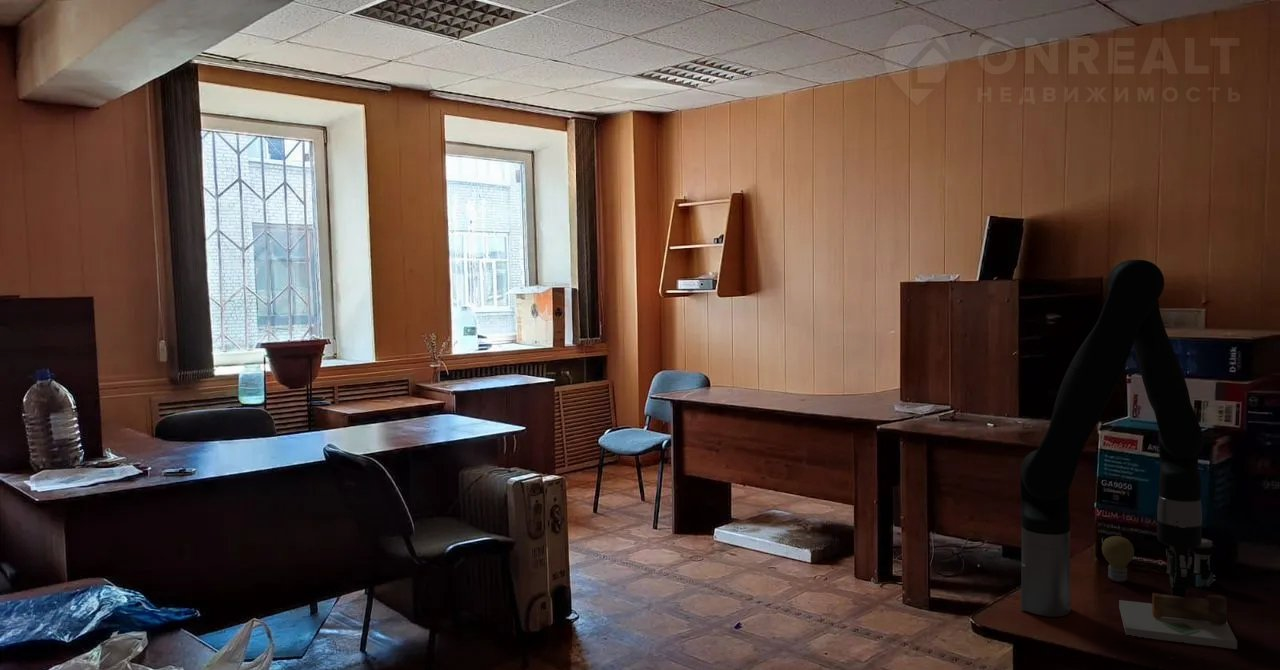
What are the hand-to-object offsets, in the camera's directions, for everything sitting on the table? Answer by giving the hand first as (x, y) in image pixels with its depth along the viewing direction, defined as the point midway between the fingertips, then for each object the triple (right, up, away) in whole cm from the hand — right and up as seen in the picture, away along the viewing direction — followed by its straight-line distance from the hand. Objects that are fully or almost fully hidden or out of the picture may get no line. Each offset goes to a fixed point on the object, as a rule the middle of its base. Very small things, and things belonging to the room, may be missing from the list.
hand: (1178, 604), depth 174 cm
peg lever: (0, -2, -3) cm, 3 cm away
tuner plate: (-2, -4, -2) cm, 5 cm away
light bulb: (+1, -2, +24) cm, 24 cm away
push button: (+18, -2, +19) cm, 26 cm away
